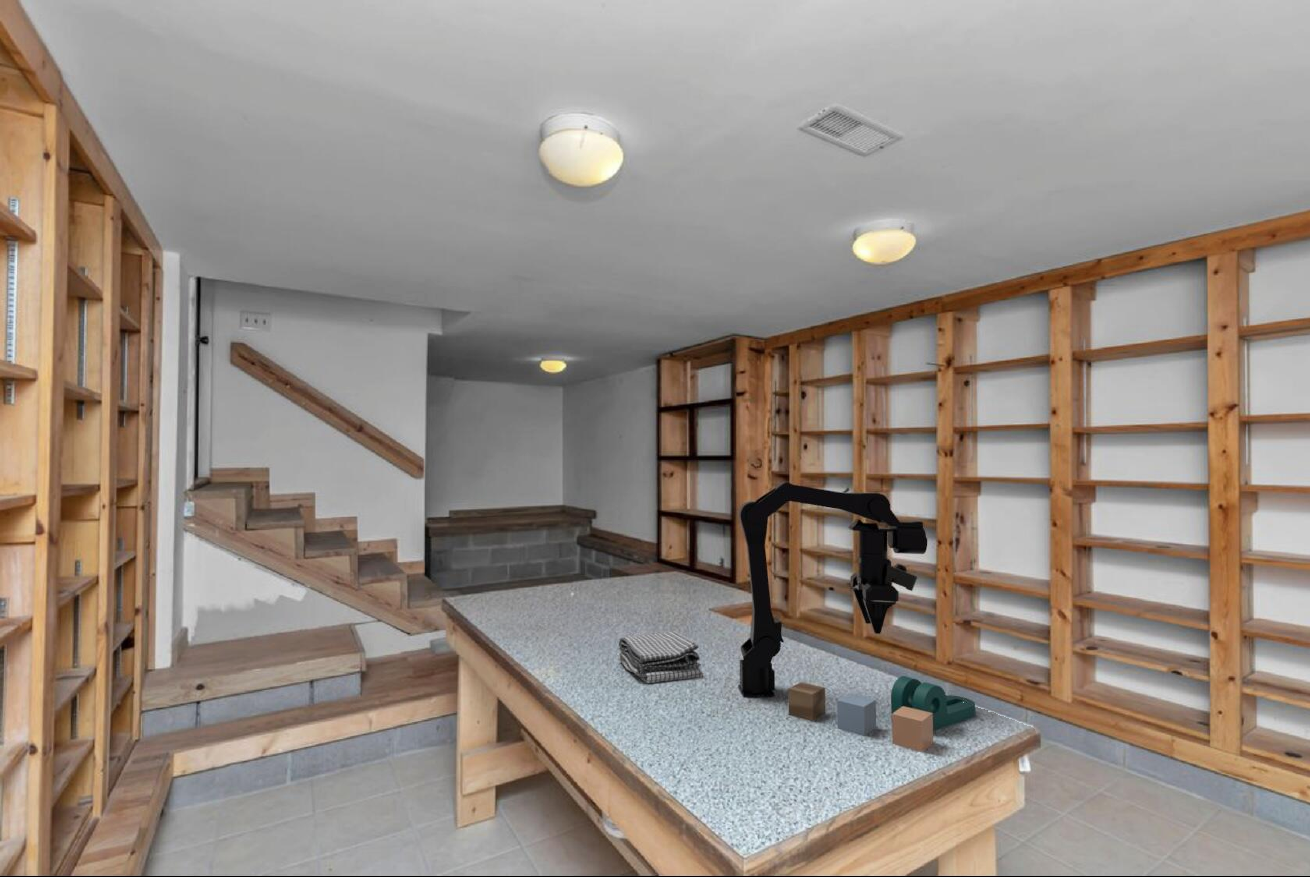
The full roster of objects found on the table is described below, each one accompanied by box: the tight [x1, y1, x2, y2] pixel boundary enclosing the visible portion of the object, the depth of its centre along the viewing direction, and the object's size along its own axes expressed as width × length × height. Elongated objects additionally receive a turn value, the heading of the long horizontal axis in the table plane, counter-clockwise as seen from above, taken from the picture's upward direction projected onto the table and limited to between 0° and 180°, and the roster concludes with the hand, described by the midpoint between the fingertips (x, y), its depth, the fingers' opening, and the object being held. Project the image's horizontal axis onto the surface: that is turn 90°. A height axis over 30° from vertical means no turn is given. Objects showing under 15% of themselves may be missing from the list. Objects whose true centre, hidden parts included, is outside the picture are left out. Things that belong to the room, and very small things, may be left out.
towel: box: [618, 630, 704, 684], centre depth 150 cm, size 15×18×8 cm
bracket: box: [890, 675, 976, 732], centre depth 120 cm, size 18×7×8 cm, turn 123°
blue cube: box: [836, 693, 877, 737], centre depth 115 cm, size 5×5×5 cm
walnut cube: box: [787, 681, 826, 722], centre depth 122 cm, size 5×5×5 cm
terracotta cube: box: [891, 706, 934, 753], centre depth 108 cm, size 5×5×5 cm
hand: (872, 628), depth 133 cm, fingers open, 9 cm apart
